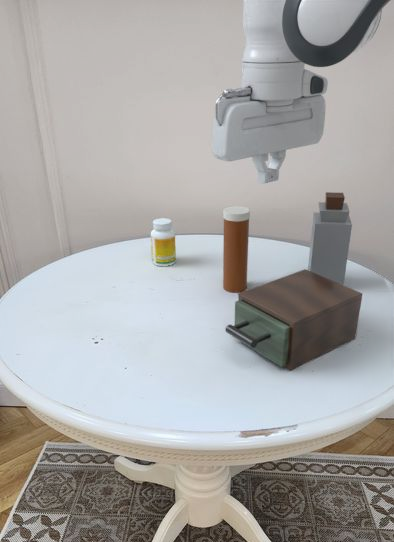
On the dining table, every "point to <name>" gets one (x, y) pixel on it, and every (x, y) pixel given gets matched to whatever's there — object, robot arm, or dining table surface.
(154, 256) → the supplement bottle
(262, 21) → the robot arm
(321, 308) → the cabinet
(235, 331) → the drawer
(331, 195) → the perfume bottle
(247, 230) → the pill bottle
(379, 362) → the dining table surface
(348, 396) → the dining table surface
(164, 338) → the dining table surface
